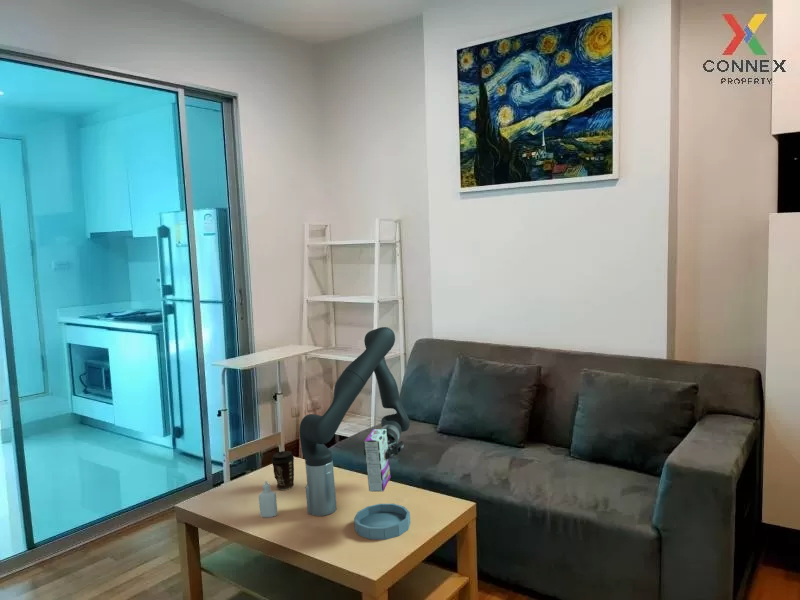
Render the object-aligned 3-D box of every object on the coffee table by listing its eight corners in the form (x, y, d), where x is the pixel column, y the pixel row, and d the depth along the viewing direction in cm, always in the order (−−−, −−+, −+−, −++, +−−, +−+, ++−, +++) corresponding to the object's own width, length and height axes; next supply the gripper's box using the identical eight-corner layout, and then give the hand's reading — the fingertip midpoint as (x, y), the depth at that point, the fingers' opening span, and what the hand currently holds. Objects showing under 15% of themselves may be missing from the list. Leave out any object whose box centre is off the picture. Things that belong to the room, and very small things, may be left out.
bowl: (350, 539, 179) (349, 528, 179) (362, 513, 196) (361, 503, 196) (405, 539, 176) (404, 528, 176) (413, 513, 193) (412, 503, 193)
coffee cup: (278, 482, 229) (275, 449, 228) (299, 481, 228) (296, 449, 227) (270, 491, 220) (267, 458, 219) (292, 491, 219) (289, 457, 218)
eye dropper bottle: (267, 511, 203) (264, 477, 202) (279, 514, 200) (276, 480, 199) (258, 516, 200) (255, 482, 199) (270, 519, 197) (267, 485, 196)
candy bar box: (376, 477, 191) (372, 428, 190) (391, 477, 190) (387, 428, 189) (367, 492, 180) (363, 440, 179) (383, 492, 179) (379, 440, 178)
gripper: (366, 428, 202) (354, 445, 186) (407, 427, 200) (399, 444, 183) (368, 449, 203) (356, 468, 186) (408, 448, 201) (401, 467, 184)
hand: (378, 456), depth 185 cm, fingers closed on candy bar box, 5 cm apart
